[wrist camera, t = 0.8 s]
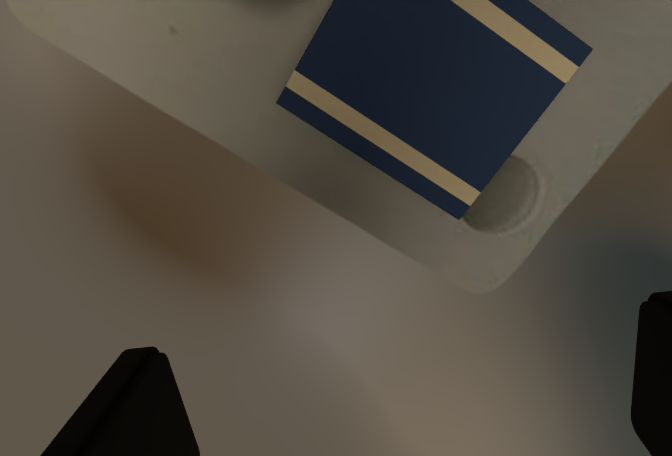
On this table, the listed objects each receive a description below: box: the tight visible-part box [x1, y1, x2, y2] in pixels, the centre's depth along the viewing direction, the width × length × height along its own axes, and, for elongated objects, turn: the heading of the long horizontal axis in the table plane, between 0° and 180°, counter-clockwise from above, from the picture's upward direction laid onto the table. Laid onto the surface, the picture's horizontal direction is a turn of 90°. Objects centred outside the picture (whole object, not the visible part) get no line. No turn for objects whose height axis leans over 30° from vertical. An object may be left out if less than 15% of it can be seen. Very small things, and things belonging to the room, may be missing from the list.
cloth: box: [276, 0, 593, 219], centre depth 35 cm, size 18×16×1 cm
